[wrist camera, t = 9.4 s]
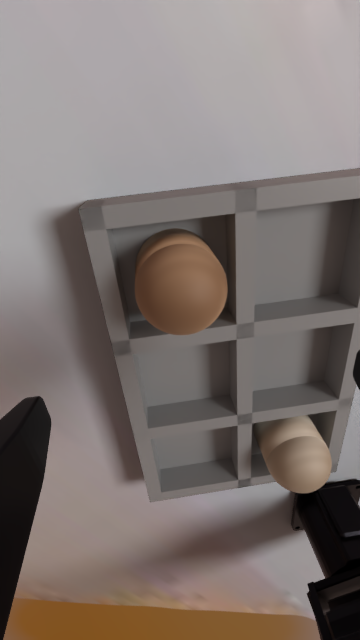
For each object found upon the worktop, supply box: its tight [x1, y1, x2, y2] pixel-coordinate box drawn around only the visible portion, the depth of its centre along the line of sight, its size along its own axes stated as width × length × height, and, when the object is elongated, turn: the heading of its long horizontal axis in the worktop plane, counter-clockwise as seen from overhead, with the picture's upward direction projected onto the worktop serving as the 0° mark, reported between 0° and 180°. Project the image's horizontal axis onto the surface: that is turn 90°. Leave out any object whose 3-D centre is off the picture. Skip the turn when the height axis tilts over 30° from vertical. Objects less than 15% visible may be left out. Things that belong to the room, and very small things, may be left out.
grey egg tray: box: [78, 168, 360, 502], centre depth 21 cm, size 22×15×3 cm
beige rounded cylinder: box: [254, 415, 332, 493], centre depth 23 cm, size 4×4×5 cm
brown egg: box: [135, 228, 228, 335], centre depth 15 cm, size 4×4×5 cm
